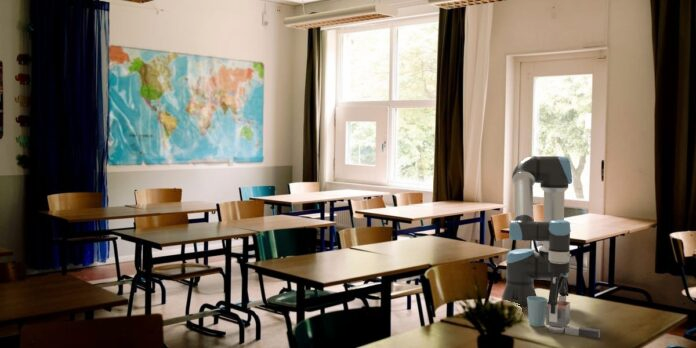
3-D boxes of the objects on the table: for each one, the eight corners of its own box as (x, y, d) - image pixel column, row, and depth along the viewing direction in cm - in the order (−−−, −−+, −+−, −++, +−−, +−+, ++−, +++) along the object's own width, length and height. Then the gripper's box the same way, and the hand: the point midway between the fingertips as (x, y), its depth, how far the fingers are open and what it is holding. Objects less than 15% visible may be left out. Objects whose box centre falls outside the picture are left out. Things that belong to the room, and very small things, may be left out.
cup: (525, 321, 270) (526, 295, 269) (545, 322, 268) (546, 296, 267) (527, 327, 262) (527, 300, 261) (547, 328, 261) (548, 301, 260)
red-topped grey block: (565, 327, 251) (565, 306, 250) (546, 324, 254) (546, 303, 254) (569, 322, 257) (569, 302, 256) (550, 320, 261) (551, 299, 260)
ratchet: (600, 335, 251) (601, 314, 251) (597, 339, 246) (598, 318, 245) (551, 328, 260) (551, 307, 260) (547, 332, 255) (547, 311, 255)
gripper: (561, 269, 242) (559, 327, 243) (576, 256, 263) (575, 310, 265) (540, 266, 246) (538, 324, 247) (556, 255, 267) (555, 307, 269)
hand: (557, 317), depth 256 cm, fingers open, 13 cm apart
